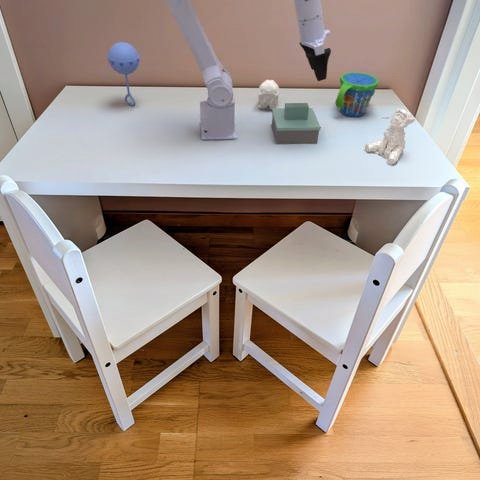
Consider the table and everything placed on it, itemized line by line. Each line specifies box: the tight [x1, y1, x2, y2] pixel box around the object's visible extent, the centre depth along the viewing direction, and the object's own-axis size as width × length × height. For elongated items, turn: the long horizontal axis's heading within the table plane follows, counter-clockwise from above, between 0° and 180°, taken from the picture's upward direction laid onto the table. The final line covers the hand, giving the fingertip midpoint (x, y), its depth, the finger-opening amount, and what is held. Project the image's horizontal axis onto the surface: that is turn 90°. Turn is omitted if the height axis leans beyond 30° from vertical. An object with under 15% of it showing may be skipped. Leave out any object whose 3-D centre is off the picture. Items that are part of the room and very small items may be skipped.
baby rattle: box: [107, 41, 140, 107], centre depth 118 cm, size 9×9×18 cm
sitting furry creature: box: [364, 107, 416, 166], centre depth 101 cm, size 10×9×12 cm
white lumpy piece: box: [257, 79, 280, 110], centre depth 123 cm, size 6×8×12 cm
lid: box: [271, 102, 321, 131], centre depth 108 cm, size 11×11×5 cm
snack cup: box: [334, 72, 379, 118], centre depth 119 cm, size 16×10×10 cm
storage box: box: [271, 114, 320, 145], centre depth 111 cm, size 11×11×4 cm
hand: (318, 73), depth 102 cm, fingers open, 7 cm apart
